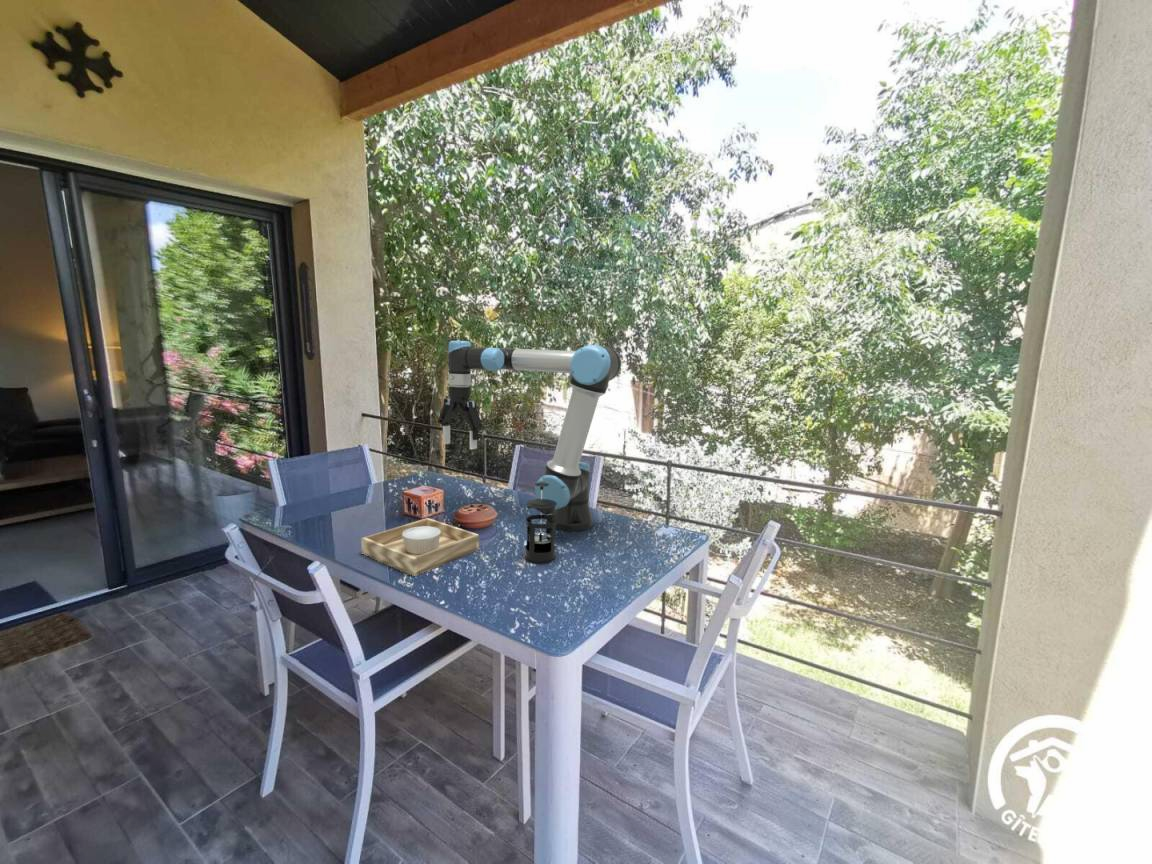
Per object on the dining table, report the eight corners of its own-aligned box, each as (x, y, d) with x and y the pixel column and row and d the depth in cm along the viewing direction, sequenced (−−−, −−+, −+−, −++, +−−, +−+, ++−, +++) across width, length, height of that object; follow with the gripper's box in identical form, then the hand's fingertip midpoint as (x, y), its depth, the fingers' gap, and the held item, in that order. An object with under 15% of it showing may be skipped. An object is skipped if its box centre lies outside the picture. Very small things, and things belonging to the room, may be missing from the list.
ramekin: (416, 539, 160) (416, 523, 159) (448, 544, 157) (447, 528, 156) (394, 552, 149) (393, 535, 149) (427, 558, 146) (427, 541, 145)
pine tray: (478, 550, 156) (478, 534, 155) (413, 576, 137) (413, 559, 136) (427, 532, 170) (427, 517, 169) (361, 554, 150) (361, 538, 149)
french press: (542, 567, 145) (544, 489, 142) (516, 559, 150) (517, 484, 146) (564, 554, 155) (567, 481, 152) (539, 547, 160) (541, 476, 156)
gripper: (427, 383, 180) (427, 442, 184) (477, 389, 166) (477, 452, 170) (443, 383, 186) (444, 440, 190) (493, 388, 172) (492, 449, 176)
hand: (459, 446), depth 180 cm, fingers open, 13 cm apart
